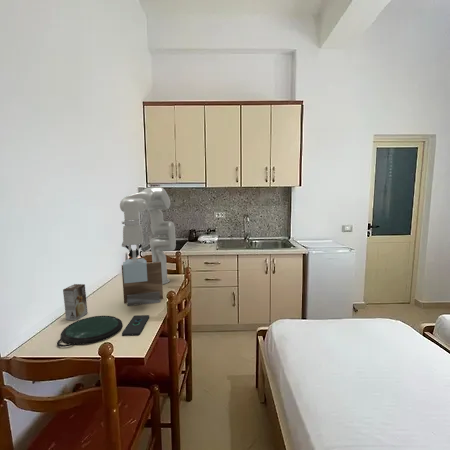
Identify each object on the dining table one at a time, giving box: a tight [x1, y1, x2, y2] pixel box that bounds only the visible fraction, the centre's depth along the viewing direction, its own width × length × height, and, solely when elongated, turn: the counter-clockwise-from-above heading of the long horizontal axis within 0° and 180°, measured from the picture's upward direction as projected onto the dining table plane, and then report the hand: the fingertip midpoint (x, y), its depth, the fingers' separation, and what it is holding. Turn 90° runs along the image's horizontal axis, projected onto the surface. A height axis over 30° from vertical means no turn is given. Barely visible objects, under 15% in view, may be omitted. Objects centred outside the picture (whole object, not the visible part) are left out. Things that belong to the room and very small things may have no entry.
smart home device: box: [121, 314, 150, 337], centre depth 148 cm, size 8×2×20 cm
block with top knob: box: [122, 249, 147, 283], centre depth 170 cm, size 12×12×16 cm
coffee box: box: [62, 283, 88, 321], centre depth 161 cm, size 9×6×16 cm
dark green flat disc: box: [56, 315, 123, 348], centre depth 143 cm, size 26×3×30 cm
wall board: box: [121, 262, 164, 307], centre depth 178 cm, size 7×22×22 cm, turn 106°
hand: (134, 256), depth 166 cm, fingers closed on block with top knob
